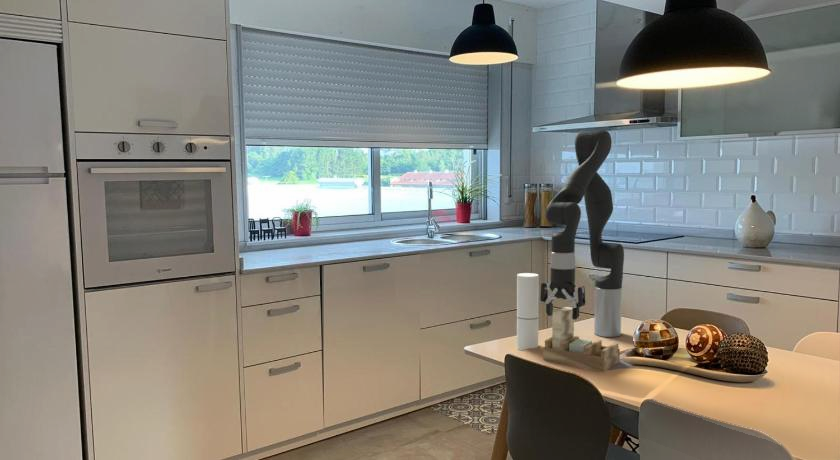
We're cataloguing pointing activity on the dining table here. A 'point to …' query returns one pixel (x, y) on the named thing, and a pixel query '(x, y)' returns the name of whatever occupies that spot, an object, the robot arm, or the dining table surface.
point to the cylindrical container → (527, 310)
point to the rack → (583, 355)
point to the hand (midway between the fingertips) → (562, 317)
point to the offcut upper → (579, 345)
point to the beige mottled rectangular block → (562, 326)
